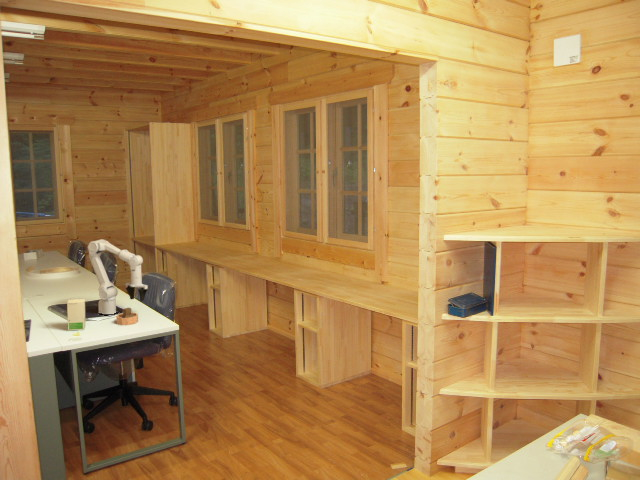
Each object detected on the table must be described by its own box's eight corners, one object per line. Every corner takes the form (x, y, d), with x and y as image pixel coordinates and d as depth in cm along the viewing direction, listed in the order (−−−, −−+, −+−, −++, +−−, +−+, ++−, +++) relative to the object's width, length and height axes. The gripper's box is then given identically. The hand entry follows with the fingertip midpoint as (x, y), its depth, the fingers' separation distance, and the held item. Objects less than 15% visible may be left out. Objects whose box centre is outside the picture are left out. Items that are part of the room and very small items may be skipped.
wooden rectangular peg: (123, 321, 302) (122, 309, 301) (128, 319, 305) (128, 307, 304) (126, 322, 301) (125, 309, 300) (131, 320, 304) (131, 308, 303)
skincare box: (67, 331, 287) (66, 302, 284) (69, 327, 293) (68, 299, 291) (84, 330, 289) (83, 301, 287) (86, 326, 295) (84, 298, 293)
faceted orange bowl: (112, 323, 301) (112, 316, 300) (127, 318, 311) (127, 311, 310) (127, 326, 296) (127, 319, 295) (142, 321, 306) (141, 314, 305)
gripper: (121, 276, 310) (122, 299, 312) (140, 279, 304) (141, 303, 306) (130, 274, 317) (131, 297, 319) (149, 277, 311) (150, 300, 313)
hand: (137, 299), depth 313 cm, fingers open, 7 cm apart
